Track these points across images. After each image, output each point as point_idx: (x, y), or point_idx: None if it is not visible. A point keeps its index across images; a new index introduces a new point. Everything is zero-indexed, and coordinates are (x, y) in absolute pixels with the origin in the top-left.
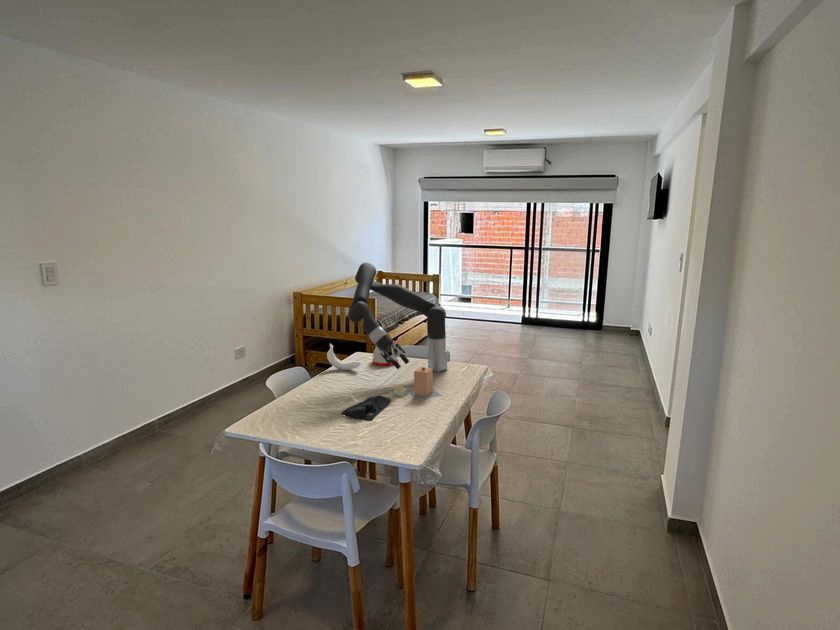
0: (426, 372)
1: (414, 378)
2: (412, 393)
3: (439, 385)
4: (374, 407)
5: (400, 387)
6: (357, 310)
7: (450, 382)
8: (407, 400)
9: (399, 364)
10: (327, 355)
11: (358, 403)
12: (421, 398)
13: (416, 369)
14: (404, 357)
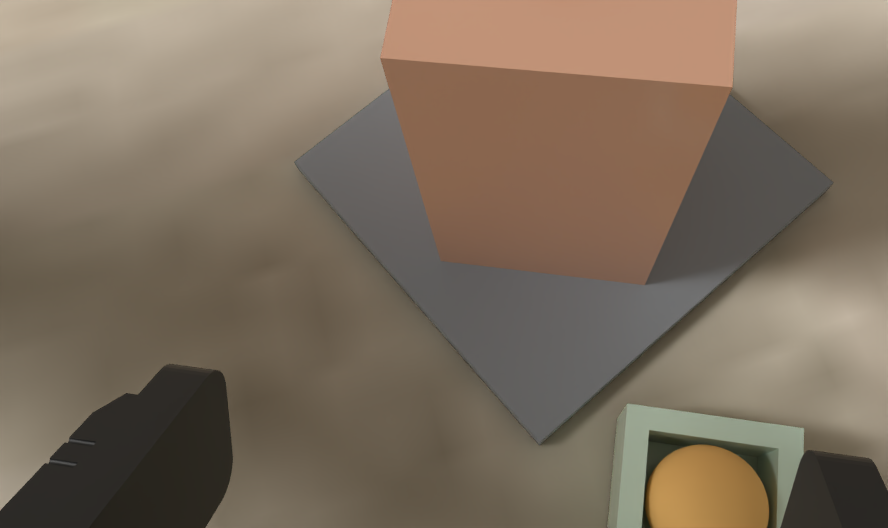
0: None
1: (692, 172)
2: (613, 327)
3: (161, 105)
4: None
5: (718, 498)
6: None
7: (34, 17)
8: (860, 329)
9: (840, 496)
10: None
11: None
12: (763, 147)
13: (594, 76)
14: (122, 521)
